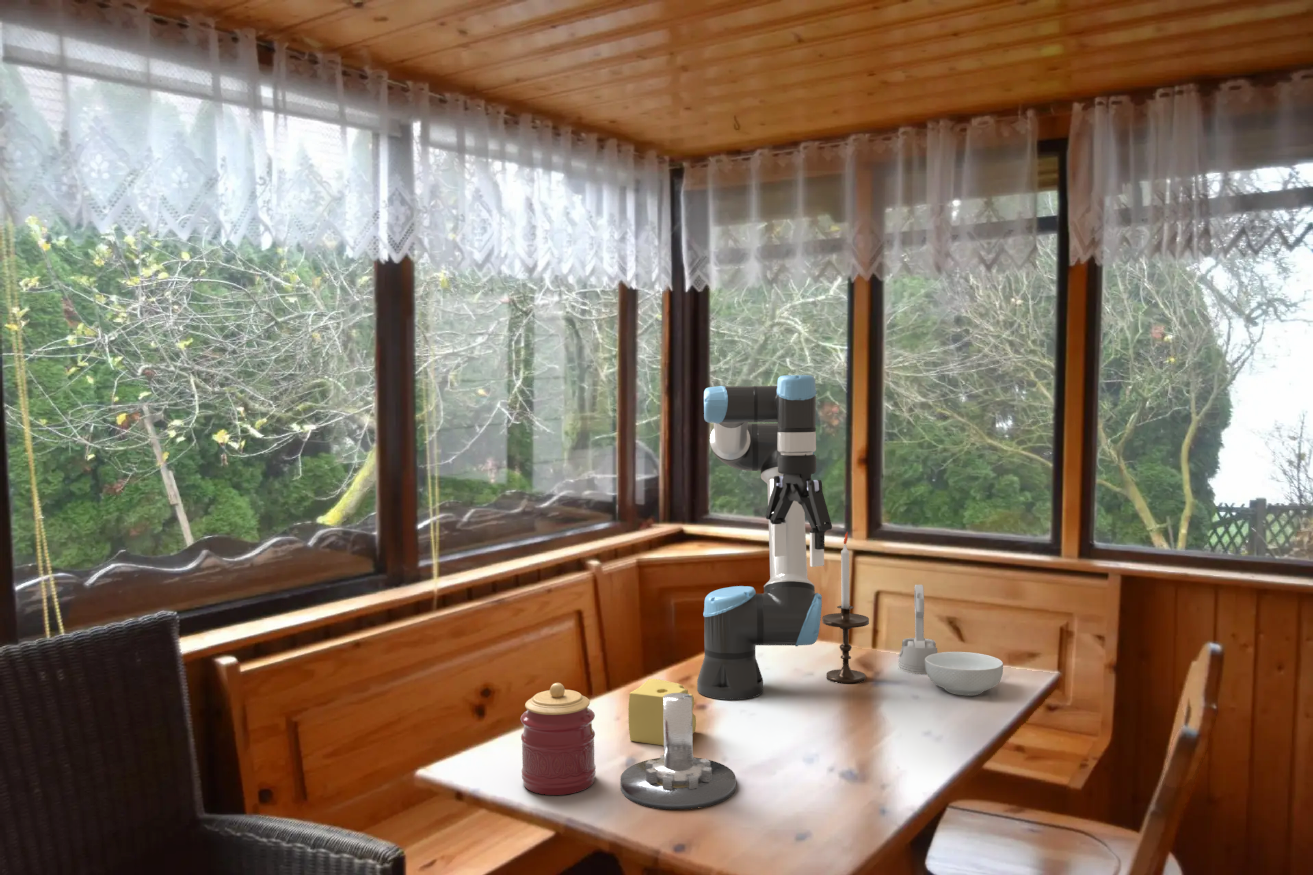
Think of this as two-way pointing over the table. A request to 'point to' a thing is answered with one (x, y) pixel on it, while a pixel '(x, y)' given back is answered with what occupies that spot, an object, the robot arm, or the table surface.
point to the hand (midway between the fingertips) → (797, 560)
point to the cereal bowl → (964, 671)
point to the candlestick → (845, 626)
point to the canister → (558, 742)
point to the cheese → (651, 710)
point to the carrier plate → (677, 789)
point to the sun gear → (678, 748)
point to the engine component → (916, 641)
